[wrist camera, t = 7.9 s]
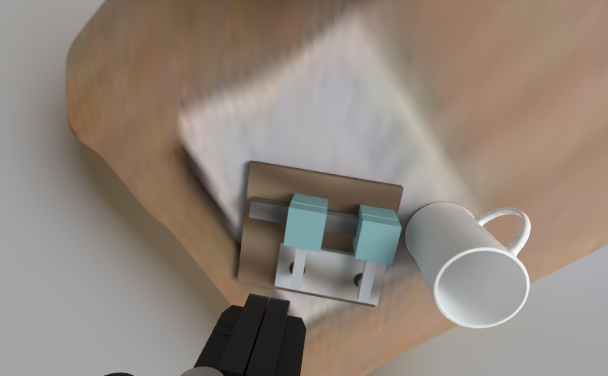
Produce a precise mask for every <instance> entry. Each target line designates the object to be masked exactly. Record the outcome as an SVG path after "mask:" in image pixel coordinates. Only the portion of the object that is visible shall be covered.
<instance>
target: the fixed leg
mask: <svg viewBox="0 0 608 376" xmlns="http://www.w3.org/2000/svg"><path fill="white" fill-rule="evenodd" d="M358 213H359V223H358V228H357V232H356V236H353V247H354V254H355V258H356V259H361V260H365V264H364V269H363V273H362V278H360V279H359V280H358V286H359V291H358V296H357V299H358V301H361V302H367V303H368V302H369V297H370V293H371V289H372V285H373V280H374V276H375V272H376V268H377V263H384V264H389V265H393V261H394V257H395V253H396V249H397V245H398V241H399V237H400V233H401V229H402V226H401V224H400V222H399V219H398V217H397V215H396V213H395V211H394V210H390V209H384V208H378V207H373V206H367V205H361V204H360V207H359V212H358Z"/></svg>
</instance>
